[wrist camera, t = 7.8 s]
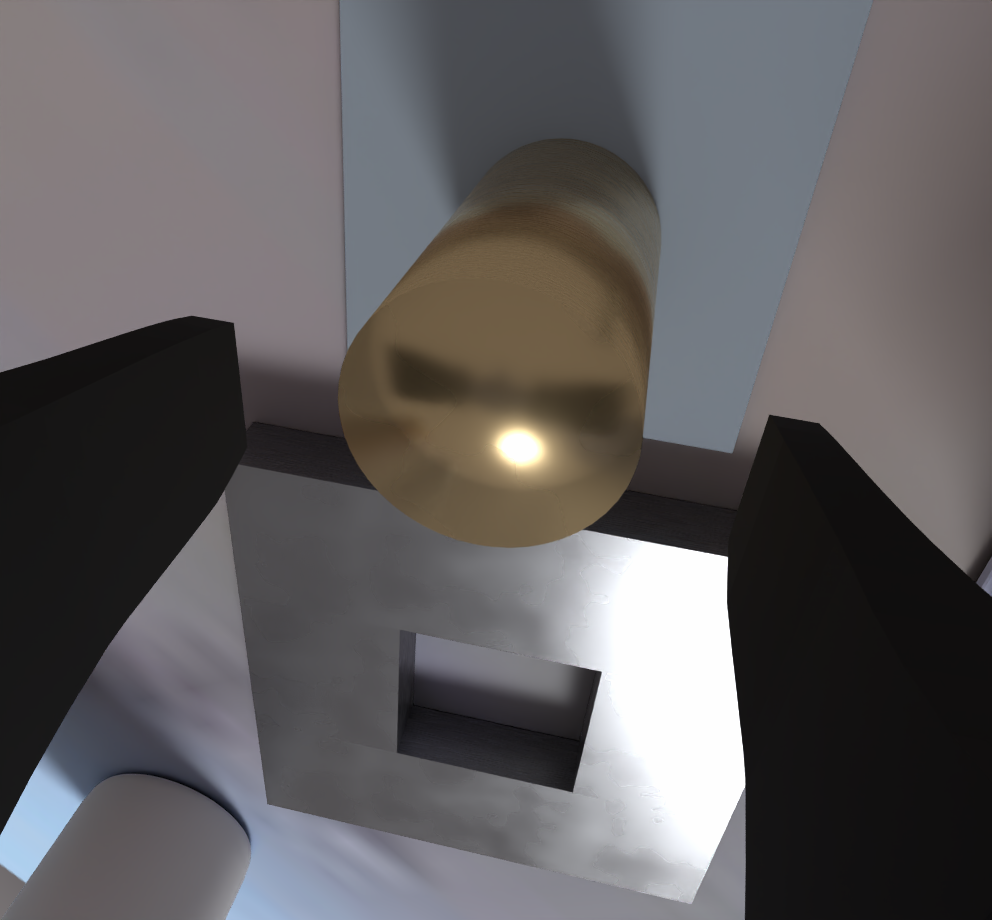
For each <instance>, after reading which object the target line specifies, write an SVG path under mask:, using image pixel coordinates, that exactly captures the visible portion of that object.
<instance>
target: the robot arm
mask: <svg viewBox="0 0 992 920" xmlns="http://www.w3.org/2000/svg"><path fill="white" fill-rule="evenodd" d="M246 449H247V439H246V429H245V420H244V411H243V402H242V393H241V384H240V375H239V366H238V357H237V348H236V339H235V330H234V323H231V322H225V321H219V320H214V319H208V318H202V317H196V316H188V317H183V318H177V319H173V320H169V321H165V322H161V323H158V324H154V325H151V326H147V327H144V328H141V329H138V330H134V331H131V332H128V333H125V334H122V335H119V336H116V337H112V338H109V339H106V340H103V341H100V342H97V343H94V344H91V345H88V346H85V347H82V348H79V349H76V350H73V351H70V352H66V353H63V354H60V355H57V356H54V357H51V358H48V359H45V360H41V361H38V362H35V363H31V364H28V365H24V366H21V367H18V368H14V369H11V370H7V371H4V372H1V373H0V835H1V833H2V831H3V829H4V827H5V825H6V823H7V821H8V819H9V817H10V816H11V814H12V812H13V810H14V808H15V806H16V804H17V802H18V800H19V798H20V796H21V795H22V793H23V791H24V789H25V787H26V785H27V783H28V781H29V779H30V777H31V776H32V774H33V772H34V770H35V768H36V767H37V765H38V763H39V761H40V760H41V758H42V756H43V754H44V753H45V751H46V749H47V747H48V746H49V744H50V742H51V740H52V739H53V737H54V735H55V733H56V732H57V730H58V728H59V726H60V725H61V723H62V721H63V719H64V718H65V716H66V714H67V712H68V711H69V709H70V707H71V705H72V704H73V702H74V701H75V699H76V697H77V696H78V694H79V692H80V691H81V689H82V688H83V686H84V684H85V683H86V681H87V679H88V678H89V676H90V674H91V673H92V671H93V670H94V668H95V666H96V665H97V663H98V661H99V660H100V658H101V657H102V655H103V653H104V652H105V650H106V648H107V647H108V645H109V644H110V643H111V641H112V640H113V638H114V637H115V636H116V634H117V633H118V631H119V630H120V629H121V627H122V626H123V624H124V623H125V622H126V620H127V619H128V618H129V616H130V615H131V614H132V612H133V611H134V610H135V609H136V607H137V606H138V605H139V603H140V602H141V601H142V600H143V598H144V597H145V596H146V594H147V593H148V592H149V591H150V589H151V588H152V587H153V585H154V584H155V583H156V582H157V580H158V579H159V578H160V576H161V575H162V574H163V573H164V571H165V570H166V569H167V568H168V566H169V565H170V564H171V562H172V561H173V560H174V559H175V557H176V556H177V555H178V553H179V552H180V551H181V550H182V548H183V547H184V546H185V544H186V543H187V542H188V541H189V539H190V538H191V537H192V535H193V534H194V533H195V531H196V530H197V529H198V527H199V526H200V525H201V523H202V522H203V521H204V520H205V518H206V517H207V516H208V514H209V513H210V512H211V510H212V509H213V507H214V506H215V505H216V503H217V502H218V500H219V498H220V497H221V495H222V493H223V492H224V490H225V488H226V486H227V485H228V483H229V481H230V479H231V478H232V476H233V474H234V472H235V470H236V468H237V466H238V464H239V462H240V460H241V459H242V457H243V455H244V453H245V451H246ZM727 613H728V623H729V632H730V642H731V651H732V660H733V669H734V677H735V686H736V695H737V704H738V712H739V721H740V730H741V739H742V747H743V758H744V773H745V788H746V886H745V920H992V557H991V558H990V560H989V562H988V564H987V565H986V567H985V569H984V570H983V572H982V574H981V575H980V577H979V579H978V581H977V582H976V583H975V582H974V581H973V580H972V579H971V578H970V577H969V576H968V575H967V574H965V573H964V572H963V571H962V570H961V569H960V568H959V567H958V566H957V565H956V564H955V563H954V562H953V561H952V560H950V559H949V558H948V557H947V556H946V555H945V554H944V553H943V552H942V551H941V550H940V549H939V548H938V547H936V546H935V545H934V544H933V543H932V542H931V541H930V540H929V539H928V538H927V537H926V536H925V535H924V534H923V533H922V532H921V531H920V530H919V529H918V528H917V527H916V526H915V525H914V524H913V523H912V522H911V521H910V520H909V519H908V518H907V517H906V516H905V515H904V514H903V513H902V512H901V510H900V509H899V508H898V507H897V506H896V505H895V504H894V503H893V502H892V501H891V500H890V499H889V498H888V497H887V496H886V495H885V493H884V492H883V491H882V490H881V489H880V488H879V487H878V486H877V485H876V484H875V483H874V482H873V480H872V479H871V478H870V477H869V476H868V475H867V474H866V473H865V472H864V471H863V469H862V468H861V467H860V466H859V465H858V464H857V463H856V462H855V461H854V459H853V458H852V457H851V456H850V455H849V454H848V453H847V452H846V451H845V450H844V448H843V447H842V446H841V445H840V444H839V443H838V442H837V441H836V440H835V439H834V438H833V437H832V436H831V435H830V434H829V432H828V431H827V430H825V429H824V428H823V427H822V426H821V425H820V424H819V423H814V422H808V421H803V420H797V419H791V418H785V417H779V416H773V415H769V418H768V421H767V424H766V427H765V430H764V433H763V436H762V439H761V442H760V445H759V448H758V451H757V454H756V457H755V460H754V463H753V466H752V469H751V472H750V475H749V478H748V481H747V484H746V487H745V490H744V493H743V496H742V499H741V502H740V505H739V508H738V511H737V514H736V517H735V520H734V523H733V526H732V529H731V532H730V535H729V540H728V564H727Z"/></svg>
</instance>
